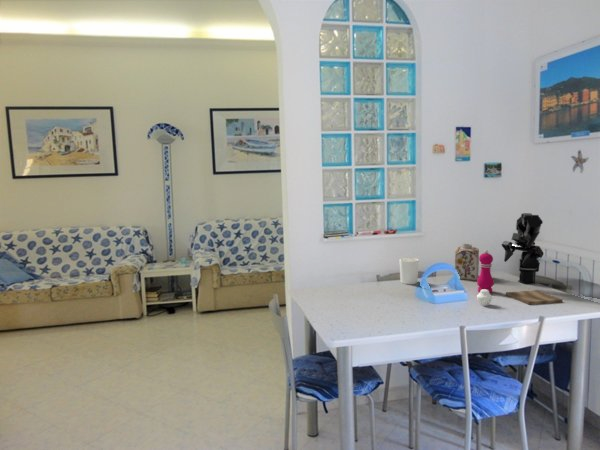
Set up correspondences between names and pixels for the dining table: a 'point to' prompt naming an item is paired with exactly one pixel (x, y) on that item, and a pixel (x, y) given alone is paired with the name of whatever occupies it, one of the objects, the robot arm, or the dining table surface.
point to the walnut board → (534, 297)
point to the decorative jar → (467, 262)
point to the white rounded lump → (484, 297)
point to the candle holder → (408, 270)
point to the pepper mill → (485, 272)
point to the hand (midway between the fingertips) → (513, 263)
